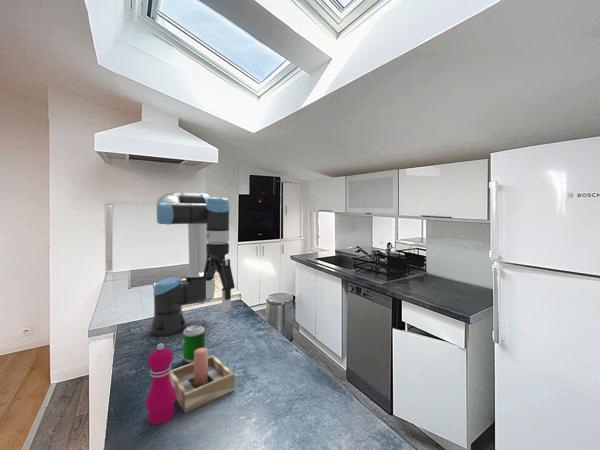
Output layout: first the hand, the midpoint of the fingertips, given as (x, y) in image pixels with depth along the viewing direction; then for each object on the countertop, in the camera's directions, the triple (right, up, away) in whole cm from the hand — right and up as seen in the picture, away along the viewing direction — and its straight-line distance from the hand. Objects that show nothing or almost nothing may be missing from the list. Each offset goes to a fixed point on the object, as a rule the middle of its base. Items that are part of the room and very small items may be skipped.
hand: (217, 302), depth 96 cm
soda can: (-11, -23, +7) cm, 27 cm away
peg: (-2, -24, -10) cm, 26 cm away
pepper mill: (-9, -25, -22) cm, 34 cm away
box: (-2, -24, -10) cm, 26 cm away
